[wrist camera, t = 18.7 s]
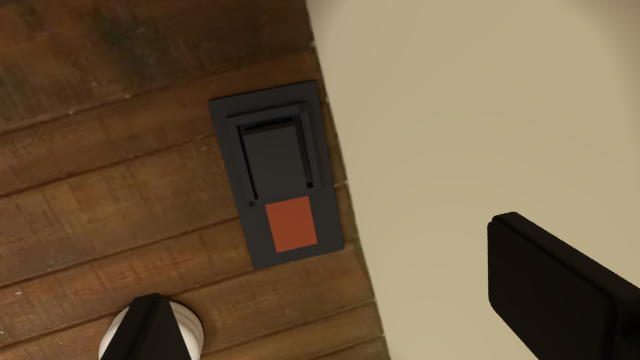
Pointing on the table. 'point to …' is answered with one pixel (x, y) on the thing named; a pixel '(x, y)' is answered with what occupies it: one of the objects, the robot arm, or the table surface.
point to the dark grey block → (275, 159)
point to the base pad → (291, 209)
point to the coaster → (186, 323)
